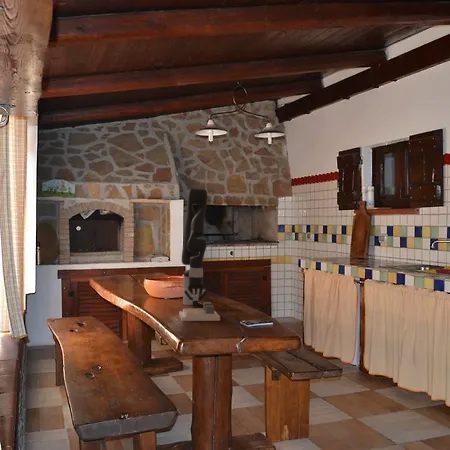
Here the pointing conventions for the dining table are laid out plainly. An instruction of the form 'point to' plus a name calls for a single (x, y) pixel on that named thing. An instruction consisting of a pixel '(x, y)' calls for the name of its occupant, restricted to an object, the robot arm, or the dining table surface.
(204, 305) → the tab
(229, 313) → the dining table surface
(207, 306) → the tab
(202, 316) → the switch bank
